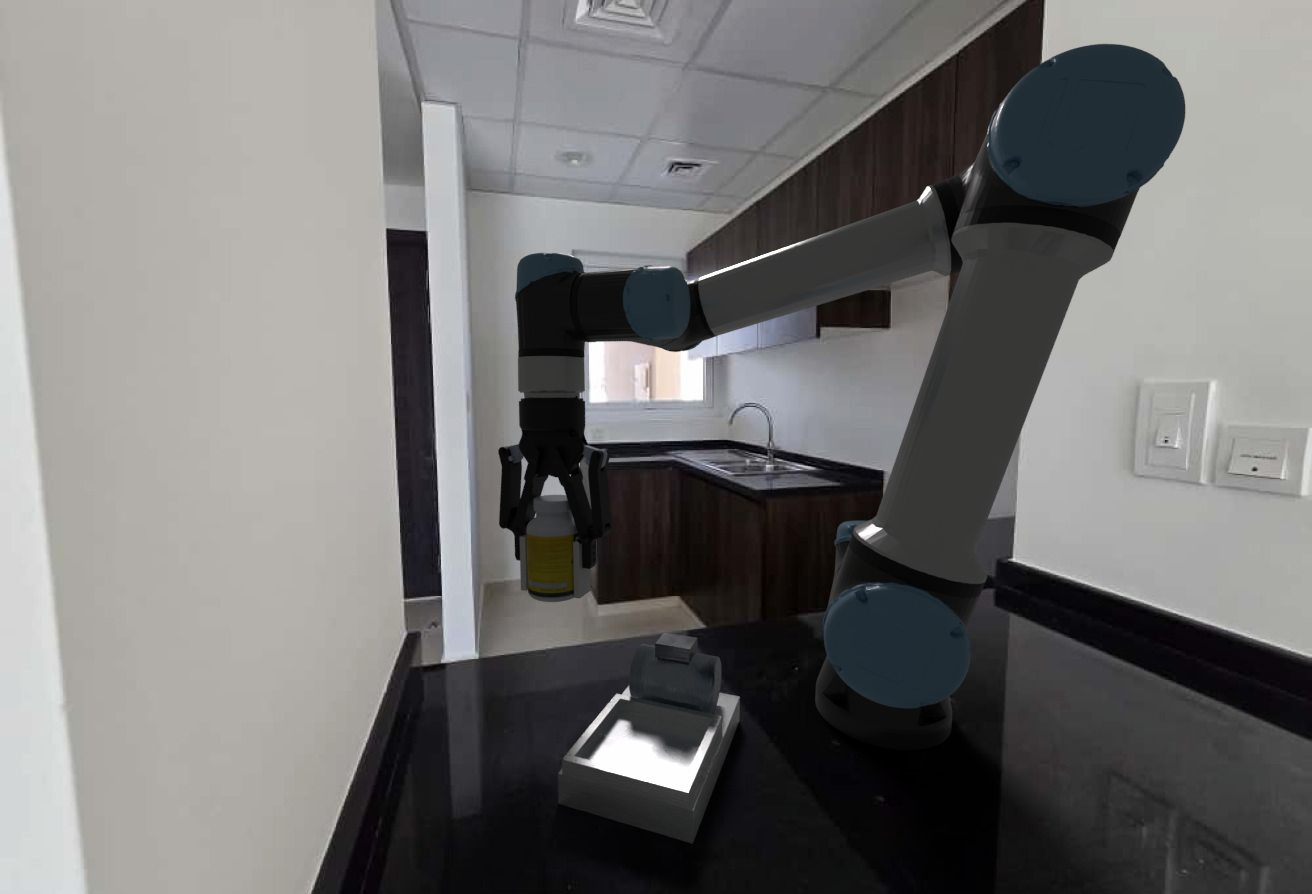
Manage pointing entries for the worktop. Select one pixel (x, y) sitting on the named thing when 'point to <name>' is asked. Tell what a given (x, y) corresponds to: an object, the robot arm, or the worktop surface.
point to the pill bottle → (551, 550)
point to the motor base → (655, 743)
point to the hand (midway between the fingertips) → (555, 590)
